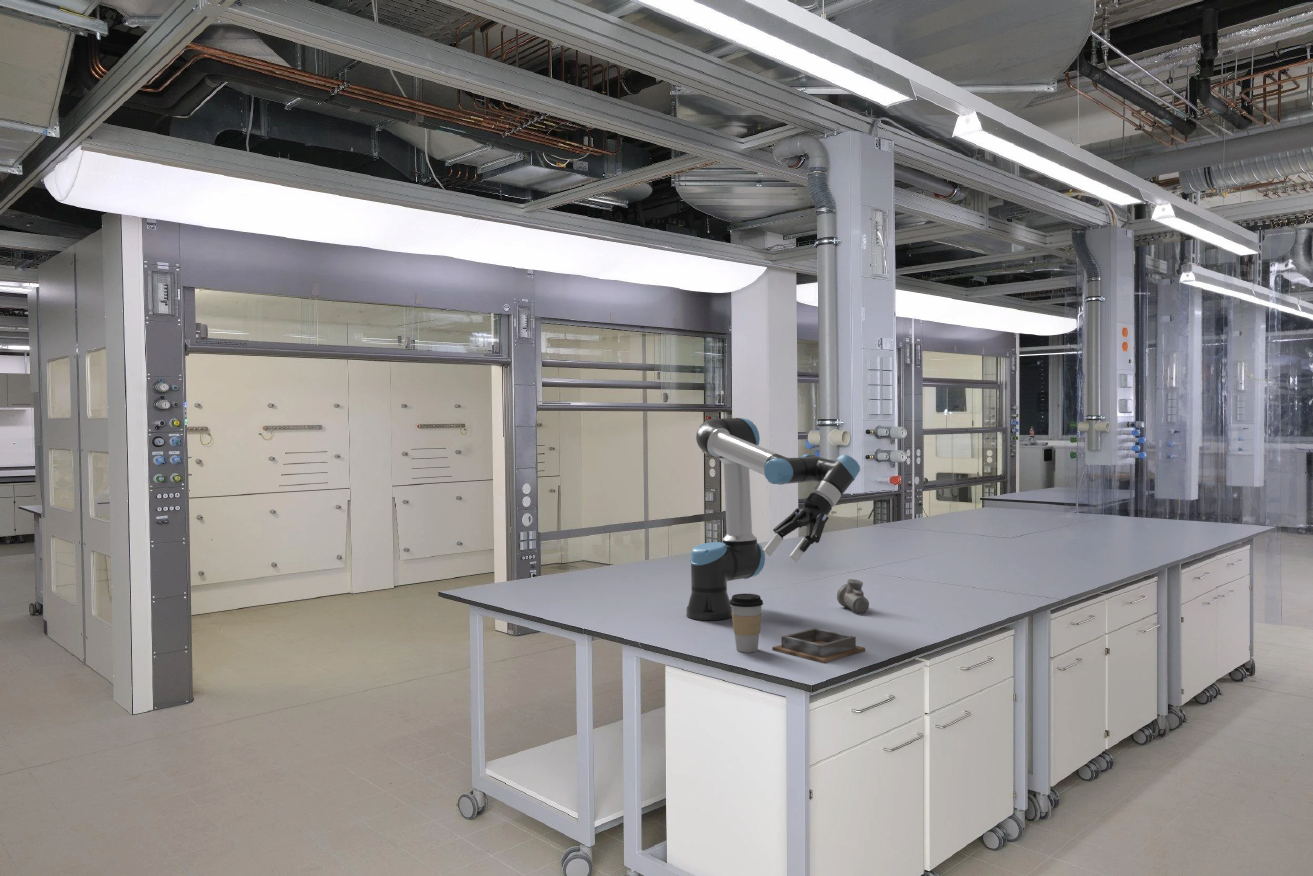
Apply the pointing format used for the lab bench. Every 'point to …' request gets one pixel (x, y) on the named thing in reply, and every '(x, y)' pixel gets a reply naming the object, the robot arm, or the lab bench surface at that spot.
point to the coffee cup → (746, 621)
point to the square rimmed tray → (818, 645)
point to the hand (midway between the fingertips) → (779, 556)
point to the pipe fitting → (853, 596)
